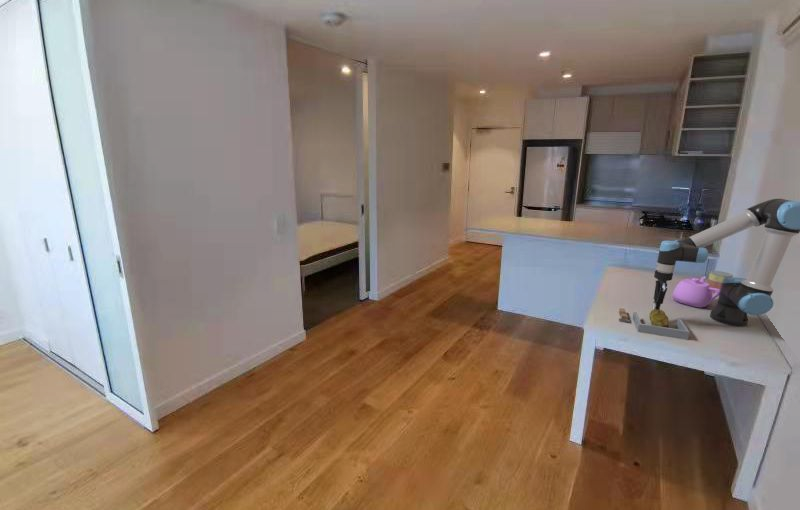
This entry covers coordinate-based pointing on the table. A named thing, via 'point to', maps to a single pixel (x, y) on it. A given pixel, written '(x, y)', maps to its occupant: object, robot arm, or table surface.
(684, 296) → the teapot
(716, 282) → the canned food
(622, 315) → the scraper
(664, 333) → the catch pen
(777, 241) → the robot arm
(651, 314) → the potato
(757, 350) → the table surface
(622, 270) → the table surface
